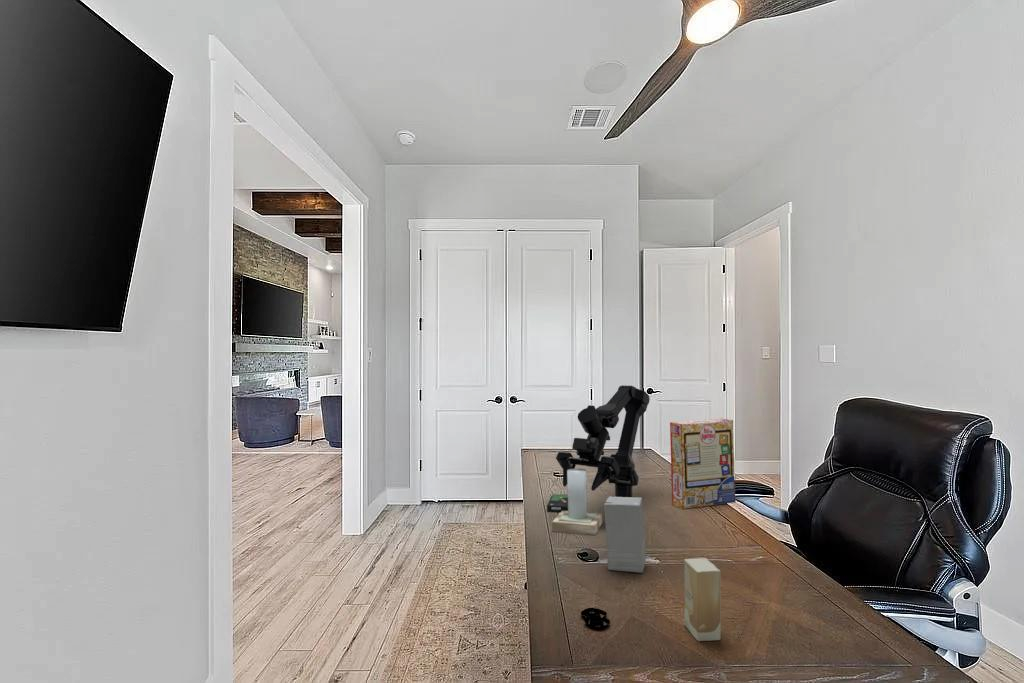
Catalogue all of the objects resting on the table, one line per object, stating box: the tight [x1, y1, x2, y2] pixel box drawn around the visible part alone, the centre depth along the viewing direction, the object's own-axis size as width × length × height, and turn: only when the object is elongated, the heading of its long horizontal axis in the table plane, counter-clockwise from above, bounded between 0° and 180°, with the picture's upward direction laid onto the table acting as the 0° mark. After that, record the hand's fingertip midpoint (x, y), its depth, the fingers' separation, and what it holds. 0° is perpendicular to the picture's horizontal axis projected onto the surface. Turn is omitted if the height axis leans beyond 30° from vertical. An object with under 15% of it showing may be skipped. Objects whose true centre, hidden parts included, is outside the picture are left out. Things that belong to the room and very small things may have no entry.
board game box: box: [669, 417, 736, 510], centre depth 187 cm, size 20×6×27 cm, turn 108°
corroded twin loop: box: [580, 607, 611, 631], centre depth 108 cm, size 5×8×1 cm, turn 4°
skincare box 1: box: [603, 495, 647, 574], centre depth 134 cm, size 8×7×16 cm
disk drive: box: [546, 493, 568, 514], centre depth 186 cm, size 10×3×15 cm
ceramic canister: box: [567, 468, 589, 519], centre depth 165 cm, size 6×6×13 cm
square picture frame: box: [551, 510, 603, 536], centre depth 165 cm, size 12×12×3 cm
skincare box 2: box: [683, 557, 722, 642], centre depth 103 cm, size 6×4×12 cm
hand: (577, 487), depth 165 cm, fingers open, 9 cm apart
